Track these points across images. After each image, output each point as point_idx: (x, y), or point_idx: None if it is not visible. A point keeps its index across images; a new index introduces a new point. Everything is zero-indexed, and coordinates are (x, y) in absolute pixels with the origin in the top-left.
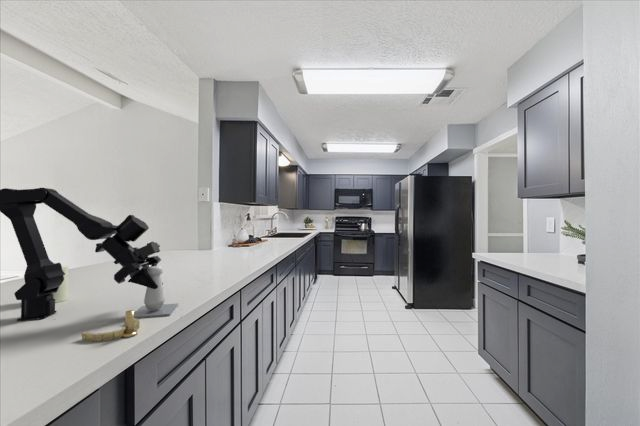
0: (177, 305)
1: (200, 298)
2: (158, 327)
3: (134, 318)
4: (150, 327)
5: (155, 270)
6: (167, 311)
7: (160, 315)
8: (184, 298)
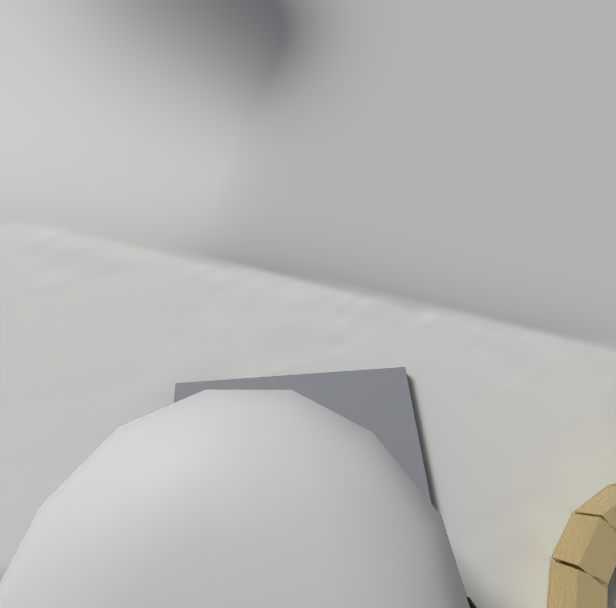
0: (200, 383)
1: (67, 288)
2: (592, 368)
3: (591, 557)
4: (598, 413)
5: (439, 523)
6: (356, 397)
7: (415, 422)
8: (8, 391)
